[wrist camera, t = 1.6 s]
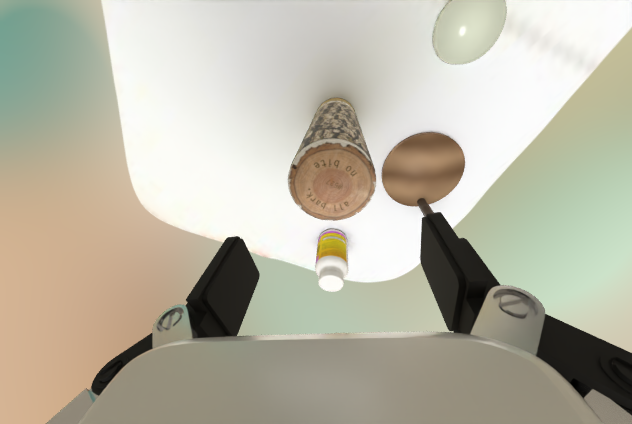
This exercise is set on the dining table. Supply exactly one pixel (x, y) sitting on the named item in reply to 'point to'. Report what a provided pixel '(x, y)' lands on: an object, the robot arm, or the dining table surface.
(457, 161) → the holder base
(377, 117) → the dining table surface
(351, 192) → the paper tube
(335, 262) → the supplement bottle
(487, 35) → the sage dish
